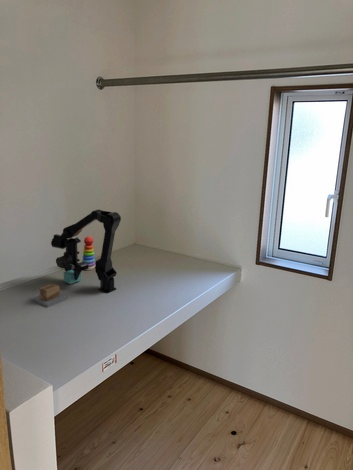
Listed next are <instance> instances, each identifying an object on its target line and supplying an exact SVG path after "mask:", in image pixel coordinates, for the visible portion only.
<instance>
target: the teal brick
mask: <svg viewBox="0 0 353 470" xmlns="http://www.w3.org/2000/svg"><path fill="white" fill-rule="evenodd" d="M80 281H82V272H81V273H80V275H79V277H78V279H77V280H75V276H74V271H73V270H69V271H64V272H63V282H65V283H66V284H68V285H70V284H71V285H72V284H74V283H78V282H80Z"/></svg>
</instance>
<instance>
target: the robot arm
mask: <svg viewBox="0 0 353 470" xmlns="http://www.w3.org/2000/svg"><path fill="white" fill-rule="evenodd" d="M121 216H122V215H120V214H119V213H118V212H116V211H113V212H111V211H107V210H101V209H95V210H92V211H91V212H90V213H88V214H87V215H86V216H84V217H83V218H81V219H80V220H79V221H77V222H76V223H74V224H70V225H68V226H65V227H64V228H63V229H62V233H61V234H57V233H56V234H53V238H52V239H51V242H50V244H51V247H52V248H54V249H55V248H56V249H62V250H64V249H65V251H64V252H63V255H62V256H59V257H56V259H55V264H56V267H58V268H61V269H64V272H66V271H69V270H73V271H74V276H75V280H77V279H78V277H79V275H80V273H81V274H82V271H87V270H86V269H89V265H88V264H87V263H85V262H83V261H81V262H80V259H79V256H78V255H80V251H78V244H79V243H81V242H82V241H81V239H79V237H77V236H79V235H80V233H81V232H82V231H83V229H84V228H86V227H87V226H89V225H90V224H92V223H94V222H95V221H98V222H99V223H101V224H103V225H102V226H103V229H104V235H103V242H102V248H101V252H100V253H101V254H100V258H98V259H97V260H95V261H94V262H95V268H94V269H93V270H94V272H95V274H96V275H97V278H98V281H100V283H99V284H100V286H99V287H98V291H101V292H104V293H105V294H106V293H107V294H108V293H111V292H114V291H115V290H117V288H116V287H115V277H116V275H117V273H118V272H117V271H116V269H115V268H114V267H113V261H112V252H113V245H114V242H115V241H114V240H115V235H116V230H118V227H119V226H120V223H121V220H122V217H121ZM73 267H74V268H73Z"/></svg>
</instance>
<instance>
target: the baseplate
mask: <svg viewBox="0 0 353 470" xmlns="http://www.w3.org/2000/svg"><path fill="white" fill-rule="evenodd" d="M31 300H32V301H33V302H36V303H37V304H40V305H42V306H45V307H46V308H49V307H52V306H54V305H57V304H59V303H61V302H65V301H66V300H68V296H66V295H65V294H62V293H60V296H59V297H57V298H54V299H52V300H49V301H45V300H43V299H41V298H40V294H39V295H36V296H33V297H32V298H31Z"/></svg>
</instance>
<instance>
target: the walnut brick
mask: <svg viewBox="0 0 353 470" xmlns="http://www.w3.org/2000/svg"><path fill="white" fill-rule="evenodd" d="M60 291H61V290H60V286H59V285H57V284H55V283H50V284H47V285H44V286H41V287H40V288H39V295H40V298H41V299H43V300H45V301H49V300H52V299H54V298H57V297H59V296H60V294H61V292H60Z"/></svg>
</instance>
